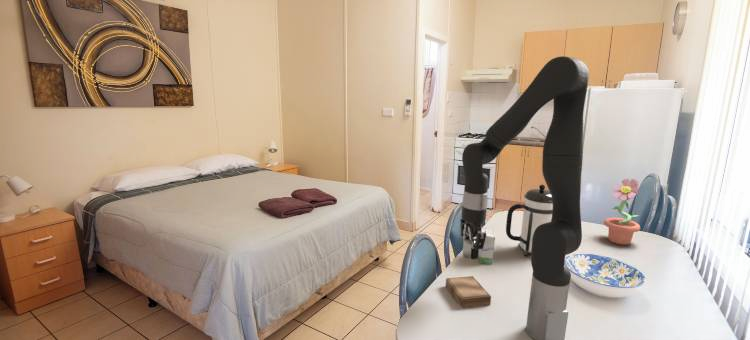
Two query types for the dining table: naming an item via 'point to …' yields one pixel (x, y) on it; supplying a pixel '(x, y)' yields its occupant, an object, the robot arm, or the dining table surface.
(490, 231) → the ink box
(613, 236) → the decorative flower
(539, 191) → the coffee press
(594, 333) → the dining table surface
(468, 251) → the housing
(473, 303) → the tray
